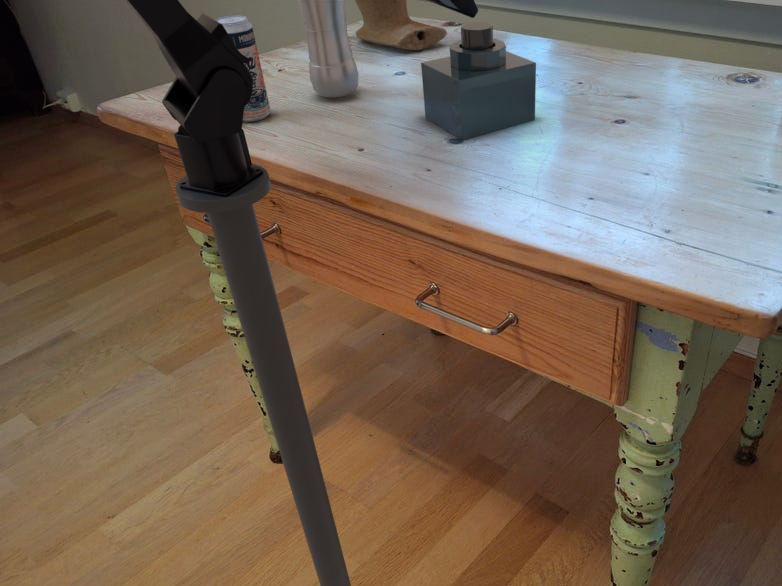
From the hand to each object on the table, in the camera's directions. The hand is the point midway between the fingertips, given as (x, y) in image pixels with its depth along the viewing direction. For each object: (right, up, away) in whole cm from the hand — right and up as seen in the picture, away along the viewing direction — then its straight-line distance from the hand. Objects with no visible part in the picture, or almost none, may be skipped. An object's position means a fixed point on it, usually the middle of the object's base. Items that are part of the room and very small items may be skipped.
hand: (474, 13), depth 82 cm
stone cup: (-14, +12, +36) cm, 41 cm away
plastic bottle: (-20, -3, +17) cm, 26 cm away
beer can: (-30, -8, +11) cm, 33 cm away
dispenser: (+1, -10, +8) cm, 13 cm away
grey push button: (0, -3, +2) cm, 4 cm away
